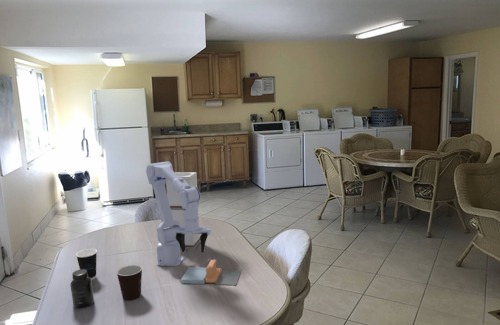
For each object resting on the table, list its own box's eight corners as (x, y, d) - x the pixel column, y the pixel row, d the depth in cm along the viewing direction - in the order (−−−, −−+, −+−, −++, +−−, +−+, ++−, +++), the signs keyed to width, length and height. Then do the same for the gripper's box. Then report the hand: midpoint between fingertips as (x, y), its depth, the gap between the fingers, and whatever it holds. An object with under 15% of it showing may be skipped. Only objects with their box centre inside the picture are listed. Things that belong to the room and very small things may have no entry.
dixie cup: (87, 284, 149) (84, 257, 147) (74, 280, 153) (71, 254, 151) (104, 276, 156) (101, 250, 154) (91, 272, 160) (88, 247, 158)
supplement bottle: (77, 299, 138) (73, 268, 136) (96, 298, 138) (93, 267, 136) (70, 310, 131) (65, 277, 129) (90, 308, 132) (86, 275, 130)
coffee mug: (137, 303, 134) (134, 276, 132) (114, 301, 136) (112, 274, 134) (151, 287, 145) (149, 262, 143) (131, 285, 147) (128, 261, 145)
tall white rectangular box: (200, 241, 191) (196, 172, 185) (193, 249, 180) (189, 176, 175) (178, 240, 193) (174, 172, 187) (170, 248, 182) (165, 176, 177)
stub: (205, 282, 147) (204, 269, 146) (211, 270, 156) (211, 258, 156) (215, 282, 146) (215, 269, 145) (221, 271, 156) (220, 259, 155)
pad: (215, 284, 145) (215, 284, 145) (221, 270, 157) (221, 270, 157) (236, 285, 144) (236, 284, 144) (241, 271, 156) (241, 270, 156)
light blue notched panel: (181, 282, 148) (181, 279, 147) (189, 270, 158) (189, 266, 158) (204, 283, 146) (203, 280, 146) (210, 270, 157) (210, 267, 157)
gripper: (169, 221, 146) (172, 255, 148) (207, 221, 144) (209, 255, 147) (175, 216, 153) (177, 248, 155) (211, 215, 151) (212, 248, 154)
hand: (193, 251), depth 151 cm, fingers open, 7 cm apart
